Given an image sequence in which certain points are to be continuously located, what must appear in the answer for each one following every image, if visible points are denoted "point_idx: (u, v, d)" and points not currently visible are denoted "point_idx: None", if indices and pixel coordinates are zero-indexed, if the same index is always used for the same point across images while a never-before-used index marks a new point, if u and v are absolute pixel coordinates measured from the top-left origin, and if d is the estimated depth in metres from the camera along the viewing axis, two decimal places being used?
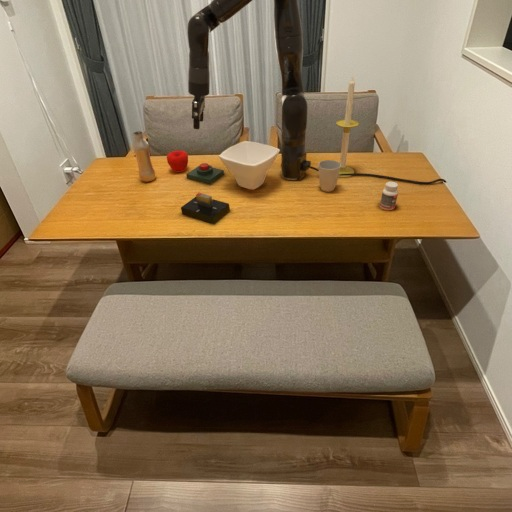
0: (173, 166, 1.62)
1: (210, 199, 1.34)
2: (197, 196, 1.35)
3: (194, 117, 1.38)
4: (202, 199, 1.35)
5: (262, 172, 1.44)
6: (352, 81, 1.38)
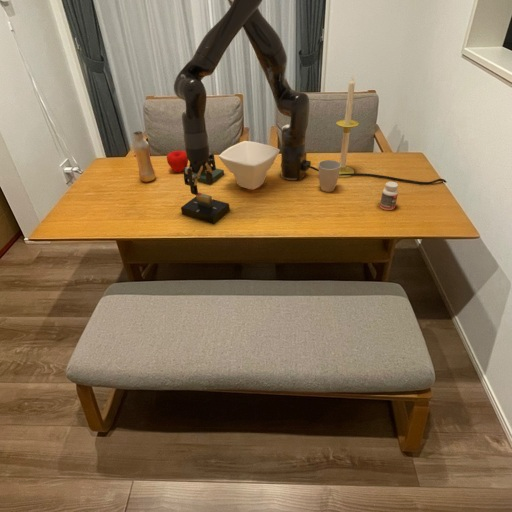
0: (173, 166, 1.62)
1: (210, 199, 1.34)
2: (197, 196, 1.35)
3: (187, 183, 1.25)
4: (202, 199, 1.35)
5: (262, 172, 1.44)
6: (352, 81, 1.38)
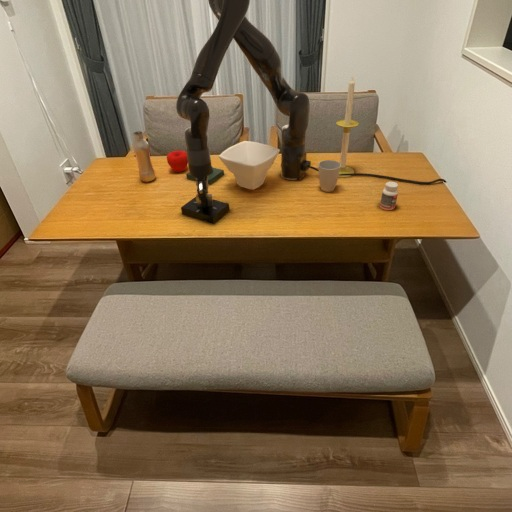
0: (173, 166, 1.62)
1: (211, 197, 1.35)
2: (197, 198, 1.34)
3: (202, 199, 1.31)
4: None
5: (262, 172, 1.44)
6: (352, 81, 1.38)
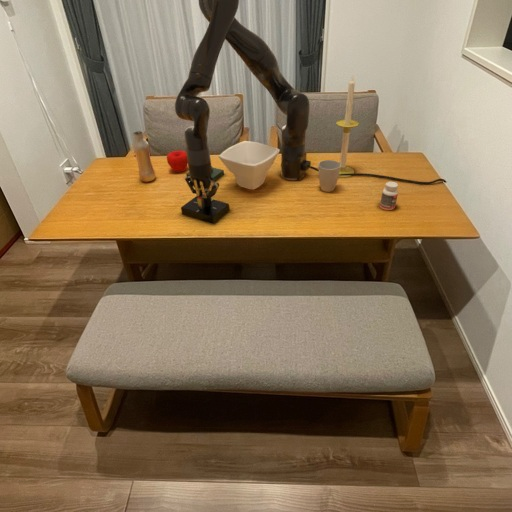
0: (173, 166, 1.62)
1: None
2: (202, 200, 1.33)
3: (212, 196, 1.32)
4: None
5: (262, 172, 1.44)
6: (352, 81, 1.38)
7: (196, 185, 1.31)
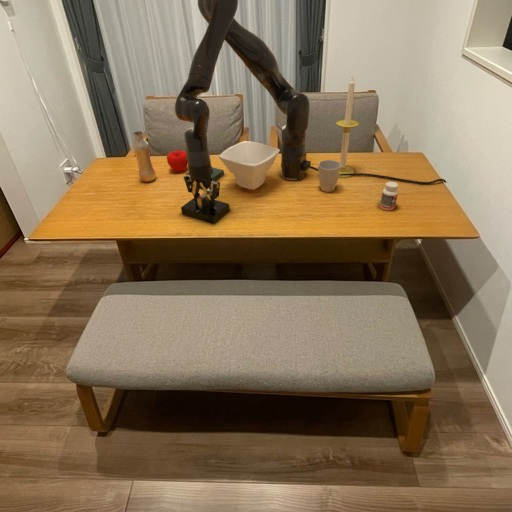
0: (173, 166, 1.62)
1: None
2: (202, 200, 1.33)
3: (216, 197, 1.31)
4: (205, 199, 1.35)
5: (262, 172, 1.44)
6: (352, 81, 1.38)
7: (195, 186, 1.32)
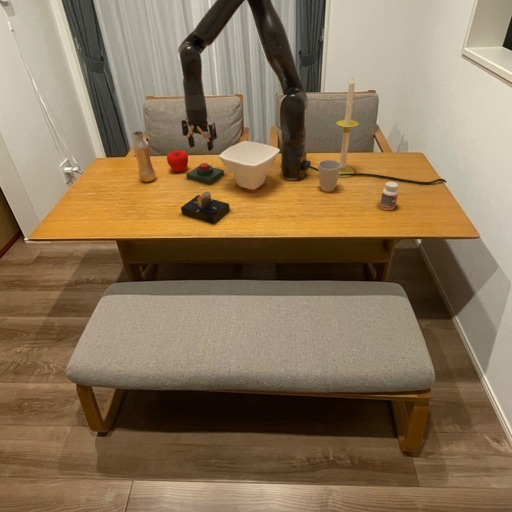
0: (173, 166, 1.62)
1: None
2: (202, 200, 1.33)
3: (214, 138, 1.44)
4: (205, 199, 1.35)
5: (262, 172, 1.44)
6: (352, 81, 1.38)
7: (191, 130, 1.45)
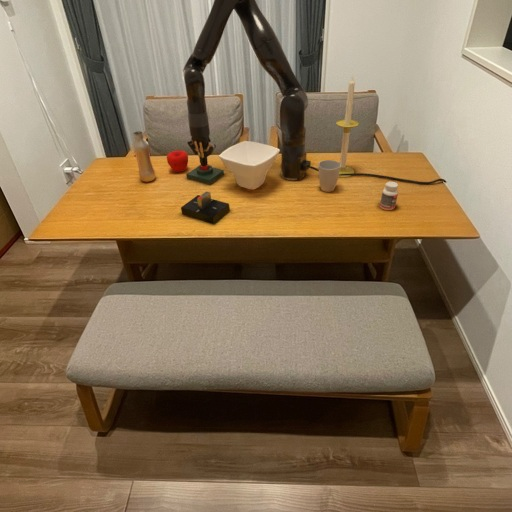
0: (173, 166, 1.62)
1: None
2: (202, 200, 1.33)
3: (208, 155, 1.54)
4: (205, 199, 1.35)
5: (262, 172, 1.44)
6: (352, 81, 1.38)
7: (197, 146, 1.52)
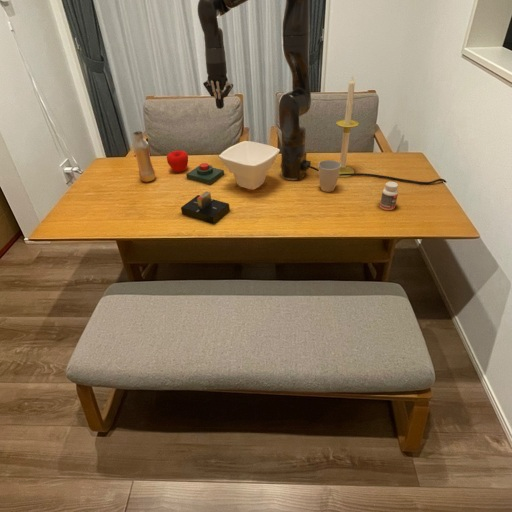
0: (173, 166, 1.62)
1: None
2: (202, 200, 1.33)
3: (225, 96, 1.49)
4: (205, 199, 1.35)
5: (262, 172, 1.44)
6: (352, 81, 1.38)
7: (213, 86, 1.47)
